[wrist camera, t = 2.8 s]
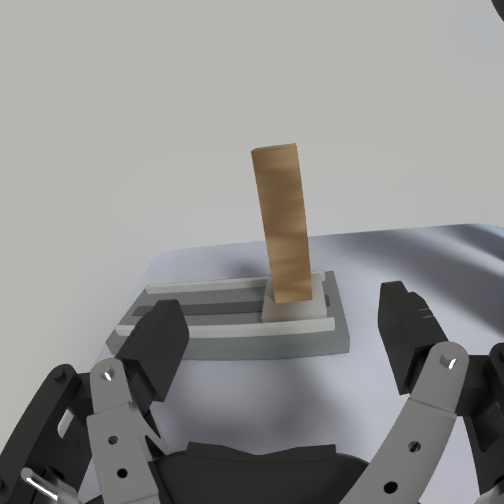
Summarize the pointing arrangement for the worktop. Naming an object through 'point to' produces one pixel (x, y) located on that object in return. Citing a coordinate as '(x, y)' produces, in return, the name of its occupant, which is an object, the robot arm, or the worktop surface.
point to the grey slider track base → (241, 321)
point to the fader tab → (286, 238)
